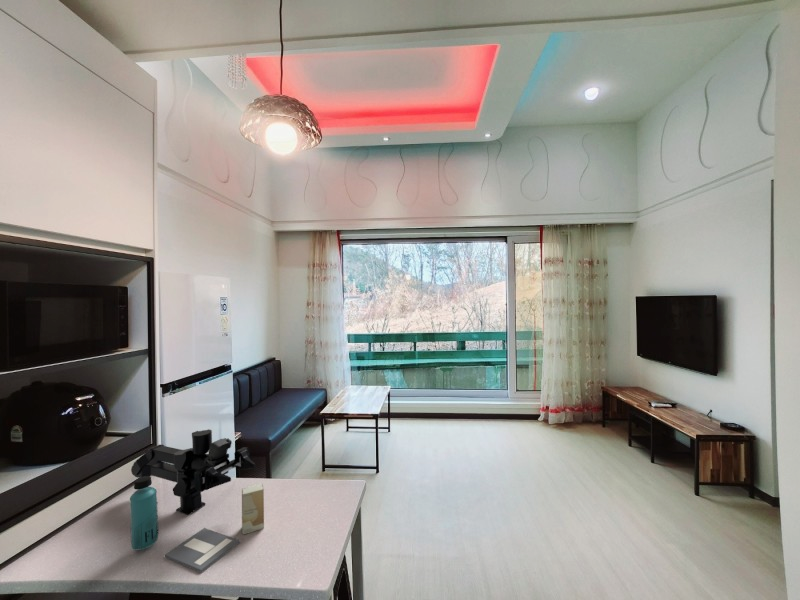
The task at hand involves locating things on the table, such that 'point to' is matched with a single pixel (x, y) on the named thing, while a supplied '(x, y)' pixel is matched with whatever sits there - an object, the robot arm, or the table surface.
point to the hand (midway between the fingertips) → (243, 472)
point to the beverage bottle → (143, 514)
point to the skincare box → (252, 508)
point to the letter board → (202, 549)
